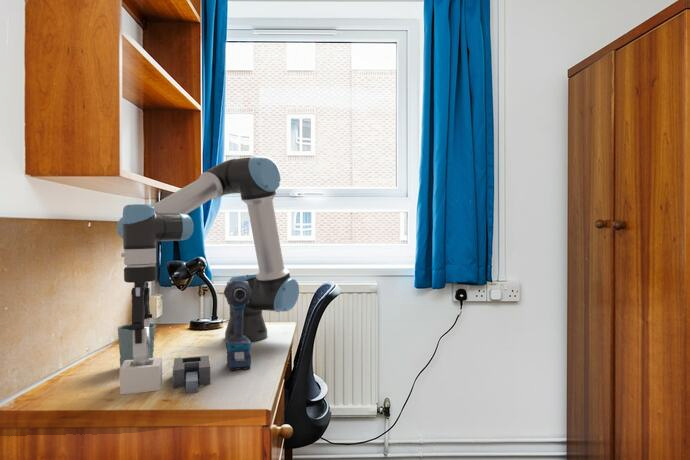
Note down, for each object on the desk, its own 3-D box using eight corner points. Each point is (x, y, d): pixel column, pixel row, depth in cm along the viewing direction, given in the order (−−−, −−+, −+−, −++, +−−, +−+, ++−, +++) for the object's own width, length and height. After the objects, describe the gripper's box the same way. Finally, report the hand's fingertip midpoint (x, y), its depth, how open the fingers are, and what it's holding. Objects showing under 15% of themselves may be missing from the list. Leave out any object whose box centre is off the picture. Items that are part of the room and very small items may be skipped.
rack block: (125, 383, 126) (124, 360, 126) (162, 379, 129) (161, 357, 129) (120, 394, 117) (119, 369, 117) (160, 390, 120) (159, 365, 120)
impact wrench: (226, 380, 127) (224, 284, 127) (224, 358, 149) (222, 276, 149) (257, 377, 129) (255, 283, 129) (250, 356, 151) (248, 275, 151)
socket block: (174, 374, 133) (174, 358, 133) (209, 371, 136) (208, 355, 136) (173, 388, 121) (172, 370, 121) (210, 384, 124) (210, 366, 124)
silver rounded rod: (135, 385, 124) (134, 326, 124) (150, 384, 125) (149, 325, 125) (133, 389, 121) (132, 329, 121) (149, 388, 122) (148, 328, 122)
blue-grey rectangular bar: (186, 383, 125) (186, 372, 125) (197, 382, 126) (197, 371, 126) (185, 393, 117) (185, 381, 117) (198, 392, 118) (197, 380, 118)
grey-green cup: (123, 364, 145) (122, 323, 145) (158, 361, 147) (158, 321, 147) (114, 373, 135) (113, 330, 135) (153, 370, 137) (152, 328, 137)
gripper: (129, 263, 134) (131, 340, 134) (116, 270, 110) (118, 364, 110) (159, 262, 136) (160, 338, 136) (152, 268, 112) (154, 360, 112)
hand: (142, 350), depth 123 cm, fingers open, 13 cm apart
